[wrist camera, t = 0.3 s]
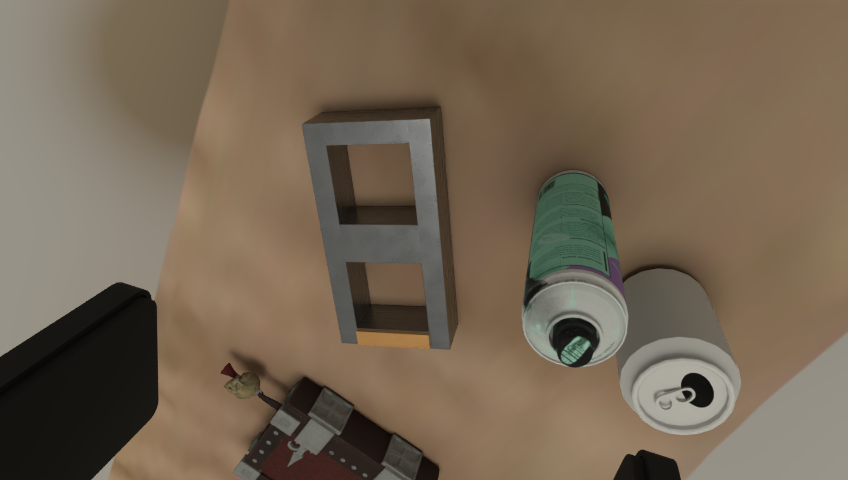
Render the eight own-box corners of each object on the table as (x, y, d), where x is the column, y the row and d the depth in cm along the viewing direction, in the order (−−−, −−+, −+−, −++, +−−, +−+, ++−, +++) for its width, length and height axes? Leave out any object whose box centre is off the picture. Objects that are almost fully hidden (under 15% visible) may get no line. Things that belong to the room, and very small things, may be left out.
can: (719, 326, 46) (763, 431, 36) (628, 350, 49) (645, 455, 38) (689, 250, 44) (727, 338, 33) (596, 280, 47) (604, 370, 36)
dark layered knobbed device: (377, 524, 67) (363, 564, 63) (202, 409, 66) (176, 441, 61) (444, 462, 60) (435, 502, 56) (251, 331, 59) (225, 361, 54)
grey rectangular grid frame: (322, 112, 46) (299, 125, 42) (440, 107, 44) (428, 120, 40) (356, 318, 54) (340, 344, 50) (458, 323, 52) (449, 351, 48)
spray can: (532, 228, 46) (510, 387, 29) (542, 165, 44) (524, 296, 26) (600, 238, 45) (621, 408, 28) (614, 174, 43) (646, 316, 25)
